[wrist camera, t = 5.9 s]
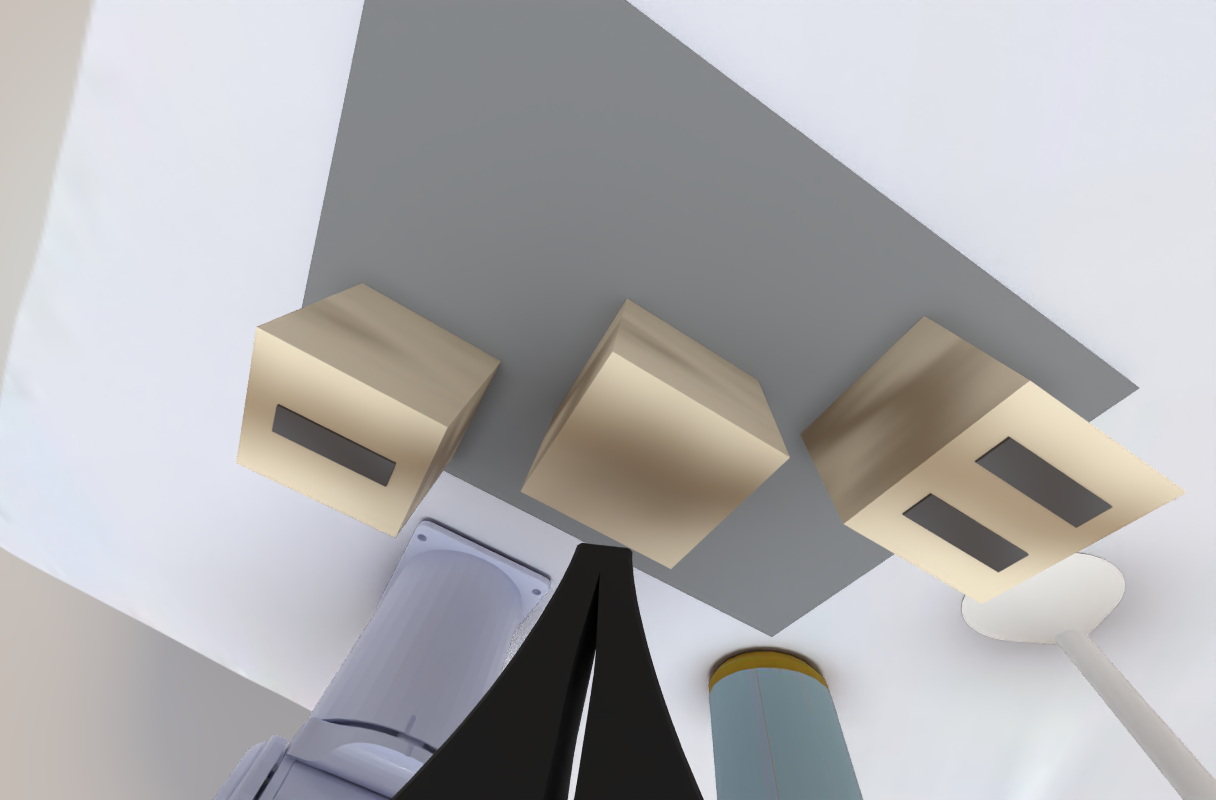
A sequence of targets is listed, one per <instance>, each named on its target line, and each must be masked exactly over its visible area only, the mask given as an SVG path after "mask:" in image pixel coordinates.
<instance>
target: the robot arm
mask: <svg viewBox="0 0 1216 800" xmlns="http://www.w3.org/2000/svg"><path fill="white" fill-rule="evenodd" d="M632 555H633V552H632V551H631V550H630V549H629V548H625V547H616V546H606V545H597V544H588V543H581V544H579V545H577V548H576V550H575V553H574V555H573V558H572V560H571V562H570V564H569V566H568V568H567V570H566V572H565V574H564V576H563V578H562V580H561V582H560V584H559V586H558V588H557V589H556V591H555V593H554V595H553V596H552V598H551V600H550V601H549V603H548V605H547V606H546V608H545V610H544V611H543V613H542V615H541V616H540V618H539V620H538V621H537V623H536V624H535V626H534V627H533V629H532V630H531V632H530V633H529V635H528V636H527V638H526V639H525V641H524V642H523V644H522V645H521V647H520V648H519V650H518V651H517V653H516V654H515V655H514V657H513V658H512V660H511V661H510V662H509V664H508V665H507V666H506V668H505V669H504V670H503V672H502V669H503V665H504V662H505V659H506V656H507V653H508V650H509V647H510V644H511V640H512V637H513V634H514V631H515V629H516V628H517V627H518V626H519V624H520V623H521V622H522V621H523V620H524V619H525V617H526V616H527V615H528V614H529V613H530V612H531V610H532V609H533V608H534V607H535V606H536V605H537V603H538V602H539V601H540V600H541V599H542V597H543V596H544V595H545V594H546V593H547V592H548V590H549V588H550V581H549V579H547V578H546V577H544V576H542V575H540V574H538V573H536V572H534V571H531V570H529V569H527V568H525V567H523V566H521V565H519V564H517V563H515V562H513V561H511V560H509V559H507V558H505V557H503V556H500V555H498V554H496V553H494V552H492V551H490V550H488V549H486V548H484V547H482V546H480V545H478V544H476V543H474V542H472V541H469V540H467V539H465V538H463V537H461V536H459V535H457V534H455V533H453V532H451V531H449V530H447V529H445V528H443V527H441V526H439V525H436V524H434V523H432V522H430V521H421V522H420V523H419V525H418V526H417V528H416V530H415V532H414V534H413V536H412V538H411V540H410V542H409V544H408V546H407V548H406V550H405V552H404V554H403V556H402V558H401V559H400V561H399V563H398V565H397V567H396V569H395V571H394V573H393V575H392V577H391V579H390V581H389V583H388V585H387V587H386V589H385V591H384V593H383V595H382V597H381V599H380V601H379V603H378V605H377V611H376V613H375V614H374V616H373V617H372V619H371V620H370V622H369V623H368V625H367V627H366V628H365V630H364V631H363V633H362V634H361V636H360V638H359V639H358V641H357V642H356V644H355V645H354V647H353V649H352V650H351V652H350V653H349V655H348V656H347V658H346V659H345V661H344V663H343V664H342V666H341V667H340V669H339V670H338V672H337V674H336V675H335V677H334V678H333V680H332V681H331V683H330V685H329V686H328V688H327V689H326V691H325V692H324V694H323V696H322V697H321V699H320V700H319V702H318V703H317V705H316V706H315V708H314V710H313V711H312V713H311V714H310V716H309V718H308V719H307V721H306V722H305V723H304V725H303V726H302V727H301V728H300V730H299V731H298V732H297V733H296V735H295V736H294V737H293V738H292V739H291V740H290V742H289V743H288V744H287V745H286V743H287V740H288V739H286V738H284V737H282V736H279V735H274V736H271V737H270V738H269V739H268V741H267V742H262V743H259V744H257V745H255V746H253V747H251V748H249V749H248V750H247V751H246V753H245V754H244V756H243V757H242V759H241V760H240V761H239V763H238V764H237V766H236V767H235V768H234V770H233V771H232V773H231V774H230V776H229V777H228V778H227V780H226V781H225V783H224V784H223V785H222V787H221V788H220V790H219V791H218V793H217V794H216V795H215V797H214V798H213V800H568V793H569V785H570V778H571V771H572V764H573V757H574V751H575V746H576V740H577V735H578V730H579V726H580V721H581V716H582V712H583V707H584V702H585V698H586V693H587V688H588V684H589V679H590V674H591V670H592V665H593V660H594V656H595V651H596V657H595V667H594V676H593V683H592V689H591V696H590V702H589V709H588V716H587V722H586V728H585V735H584V741H583V747H582V754H581V760H580V767H579V773H578V779H577V785H576V791H575V797H574V800H704V799H703V797H702V795H701V792H700V790H699V787H698V785H697V783H696V780H695V778H694V776H693V773H692V771H691V768H690V766H689V764H688V761H687V759H686V757H685V754H684V752H683V749H682V747H681V744H680V741H679V739H678V736H677V733H676V731H675V728H674V725H673V723H672V720H671V717H670V714H669V712H668V709H667V706H666V703H665V700H664V697H663V694H662V691H661V688H660V685H659V682H658V679H657V676H656V672H655V669H654V666H653V662H652V659H651V655H650V652H649V648H648V645H647V641H646V637H645V633H644V629H643V624H642V620H641V616H640V611H639V607H638V602H637V596H636V590H635V584H634V576H633V561H632ZM501 672H502V673H501ZM285 745H286V746H285ZM284 747H285V748H284Z"/></svg>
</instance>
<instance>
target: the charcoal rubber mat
mask: <svg viewBox="0 0 1216 800" xmlns="http://www.w3.org/2000/svg"><path fill="white" fill-rule="evenodd" d="M361 283H363V284H365V285H367V286H369V287H370V288H372V289H374V290H376V291H377V292H379V293H381V294H383V295H384V296H386V297H388V298H390V299H392V300H393V301H395V302H397V303H399V304H400V305H402V306H404V307H406V308H407V309H409V310H411V311H413V312H415V313H416V314H418V315H420V316H422V317H423V318H425V319H427V320H429V321H430V322H432V323H434V324H436V325H438V326H439V327H441V328H443V329H445V330H446V331H448V332H450V333H452V334H453V335H455V336H457V337H459V338H461V339H462V340H464V341H466V342H468V343H469V344H471V345H473V346H475V347H477V348H478V349H480V350H482V351H484V352H485V353H487V354H489V355H491V356H492V357H494V358H496V359H498V360H500V361H501V362H500V364H499V366H498V368H497V370H496V372H495V374H494V376H493V378H492V380H491V382H490V384H489V386H488V388H487V390H486V392H485V394H484V396H483V398H482V400H481V402H480V404H479V406H478V408H477V410H476V412H475V414H474V416H473V418H472V420H471V422H470V424H469V426H468V428H467V430H466V432H465V434H464V436H463V438H462V440H461V442H460V443H459V445H458V447H457V449H456V451H455V453H454V455H453V457H452V459H451V460H450V462H449V463H448V464H447V466H446V467H445V469H444V471H446V472H448V473H450V474H452V475H454V476H456V477H458V478H460V479H462V480H464V481H465V482H467V483H469V484H471V485H473V486H475V487H477V488H479V489H481V490H483V491H485V492H487V493H489V494H491V495H493V496H495V497H497V498H499V499H501V500H503V501H505V502H507V503H509V504H511V505H513V506H515V507H517V508H519V509H521V510H523V511H525V512H527V513H529V514H531V515H532V516H534V517H536V518H538V519H540V520H542V521H544V522H546V523H548V524H550V525H552V526H554V527H556V528H558V529H560V530H562V531H564V532H566V533H568V534H570V535H572V536H574V537H576V538H578V539H580V540H582V541H584V542H586V543H588V544H597V545H606V546H616V547H625V548H629V547H627V546H625V545H623V544H621V543H619V542H617V541H615V540H613V539H611V538H610V537H608V536H606V535H604V534H602V533H600V532H598V531H596V530H594V529H592V528H590V527H588V526H586V525H584V524H582V523H580V522H578V521H576V520H575V519H573V518H571V517H569V516H567V515H565V514H563V513H561V512H559V511H557V510H555V509H553V508H551V507H549V506H547V505H545V504H543V503H542V502H540V501H538V500H536V499H534V498H532V497H530V496H528V495H526V494H524V493H522V492H521V489H522V487H523V485H524V482H525V480H526V478H527V476H528V473H529V471H530V469H531V466H532V464H533V462H534V460H535V457H536V455H537V453H538V450H539V448H540V446H541V443H542V441H543V439H544V437H545V434H546V432H547V430H548V427H549V425H550V423H551V420H552V418H553V416H554V414H555V412H556V411H557V409H558V407H559V406H560V404H561V403H562V401H563V399H564V398H565V396H566V395H567V393H568V392H569V390H570V388H571V387H572V385H573V384H574V382H575V380H576V379H577V377H578V376H579V374H580V372H581V371H582V369H583V368H584V366H585V365H586V363H587V361H588V360H589V358H590V357H591V355H592V353H593V352H594V350H595V349H596V347H597V345H598V344H599V342H600V341H601V339H602V338H603V336H604V334H605V333H606V331H607V330H608V328H609V326H610V325H611V323H612V322H613V320H614V318H615V317H616V315H617V314H618V312H619V311H620V309H621V307H622V306H623V304H624V303H625V301H626V299H629V300H630V301H632V302H634V303H635V304H637V305H638V306H640V307H642V308H643V309H645V310H646V311H648V312H650V313H651V314H653V315H654V316H656V317H658V318H659V319H661V320H662V321H664V322H666V323H667V324H669V325H670V326H672V327H674V328H675V329H677V330H678V331H680V332H682V333H683V334H685V335H687V336H688V337H690V338H691V339H693V340H695V341H696V342H698V343H699V344H701V345H703V346H704V347H706V348H707V349H709V350H711V351H712V352H714V353H715V354H717V355H719V356H720V357H722V358H723V359H725V360H727V361H728V362H730V363H731V364H733V365H735V366H736V367H738V368H739V369H741V370H743V371H744V372H746V373H747V374H749V375H751V376H752V377H754V378H755V379H757V380H758V381H759V384H760V386H761V388H762V391H763V393H764V396H765V398H766V401H767V403H768V405H769V408H770V410H771V413H772V415H773V417H774V420H775V422H776V425H777V427H778V430H779V432H780V434H781V437H782V439H783V442H784V444H785V447H786V449H787V451H788V454H789V456H790V458H789V459H788V460H787V461H786V462H785V463H784V464H783V465H781V466H780V467H779V468H778V469H777V470H776V471H775V472H774V473H773V474H772V475H771V476H770V477H769V478H768V479H767V480H765V481H764V482H763V483H762V484H761V485H760V486H759V487H758V488H757V489H756V490H755V491H754V492H753V493H752V494H751V495H749V496H748V497H747V498H746V499H745V500H744V501H743V502H742V503H741V504H740V505H739V506H738V507H737V508H736V509H735V510H733V511H732V512H731V513H730V514H729V515H728V516H727V517H726V518H725V519H724V520H723V521H722V522H721V523H720V524H719V525H717V526H716V527H715V528H714V529H713V530H712V531H711V532H710V533H709V534H708V535H707V536H706V537H705V538H704V539H703V540H701V541H700V542H699V543H698V544H697V545H696V546H695V547H694V548H693V549H692V550H691V551H690V552H689V553H688V554H687V555H685V556H684V557H683V558H682V559H681V560H680V561H679V562H678V563H677V564H676V565H675V566H674V567H673V568H672V569H670V568H668V567H666V566H664V565H662V564H660V563H658V562H656V561H654V560H652V559H650V558H648V557H646V556H644V555H643V554H641V553H639V552H637V551H635V550H633V549H631V548H629V549H630V550H631V551H632V552H633V555H632V561H633V567H635V568H637V569H639V570H641V571H643V572H645V573H647V574H649V575H651V576H653V577H655V578H657V579H659V580H661V581H663V582H665V583H667V584H668V585H670V586H672V587H674V588H676V589H678V590H680V591H682V592H684V593H686V594H688V595H690V596H692V597H694V598H696V599H698V600H700V601H702V602H704V603H706V604H708V605H710V606H712V607H714V608H716V609H718V610H720V611H722V612H724V613H726V614H728V615H730V616H732V617H734V618H735V619H737V620H739V621H741V622H743V623H745V624H747V625H749V626H751V627H753V628H755V629H757V630H759V631H761V632H763V633H765V634H767V635H769V636H771V637H773V636H774V635H776V634H777V633H778V632H780V631H781V630H783V629H784V628H786V627H787V626H789V625H790V624H792V623H793V622H795V621H796V620H798V619H799V618H801V617H802V616H804V615H805V614H807V613H808V612H810V611H811V610H812V609H814V608H815V607H817V606H818V605H820V604H821V603H823V602H824V601H826V600H827V599H829V598H830V597H832V596H833V595H835V594H836V593H838V592H839V591H841V590H842V589H844V588H845V587H846V586H848V585H849V584H851V583H852V582H854V581H855V580H857V579H858V578H860V577H861V576H863V575H864V574H866V573H867V572H869V571H870V570H872V569H873V568H875V567H876V566H877V565H879V564H880V563H882V562H883V561H885V560H886V559H888V558H889V557H891V556H892V555H894V553H892V552H891V551H889V550H887V549H886V548H884V547H882V546H880V545H879V544H877V543H875V542H873V541H872V540H870V539H868V538H867V537H865V536H863V535H861V534H860V533H858V532H856V531H855V530H853V529H851V528H849V527H848V526H846V525H844V524H843V522H842V520H841V518H840V516H839V514H838V512H837V510H836V508H835V506H834V504H833V501H832V499H831V497H830V495H829V493H828V491H827V489H826V487H825V485H824V483H823V481H822V479H821V477H820V475H819V473H818V470H817V468H816V466H815V464H814V462H813V460H812V458H811V456H810V454H809V452H808V450H807V448H806V446H805V444H804V442H803V439H802V437H801V435H800V434H801V433H802V432H803V431H805V430H806V429H807V428H808V427H809V426H810V425H811V424H812V423H813V422H814V421H815V420H816V419H817V418H818V417H819V416H820V415H821V414H822V413H823V412H824V411H825V410H826V409H827V408H829V407H830V406H831V405H832V404H833V403H834V402H835V401H836V400H837V399H838V398H839V397H840V396H841V395H842V394H843V393H844V392H845V391H846V390H847V389H848V388H849V387H850V386H852V385H853V384H854V383H855V382H856V381H857V380H858V379H859V378H860V377H861V376H862V375H863V374H864V373H865V372H866V371H867V370H868V369H869V368H870V367H871V366H872V365H873V364H874V363H876V362H877V361H878V360H879V359H880V358H881V357H882V356H883V355H884V354H885V353H886V352H887V351H888V350H889V349H890V348H891V347H892V346H893V345H894V344H895V343H896V342H897V341H898V340H900V339H901V338H902V337H903V336H904V335H905V334H906V333H907V332H908V331H909V330H910V329H911V328H912V327H913V326H914V325H915V324H916V323H917V322H918V321H919V320H920V319H921V318H923V317H924V316H926V317H927V318H929V319H931V320H932V321H934V322H935V323H937V324H939V325H940V326H942V327H944V328H945V329H947V330H948V331H950V332H952V333H953V334H955V335H957V336H958V337H960V338H962V339H963V340H965V341H966V342H968V343H970V344H971V345H973V346H975V347H976V348H978V349H979V350H981V351H983V352H984V353H986V354H988V355H989V356H991V357H993V358H994V359H996V360H997V361H999V362H1001V363H1002V364H1004V365H1006V366H1007V367H1009V368H1011V369H1012V370H1014V371H1015V372H1017V373H1019V374H1020V375H1022V376H1024V377H1025V378H1027V379H1028V380H1030V381H1031V382H1033V383H1034V384H1036V385H1037V386H1038V387H1040V388H1041V389H1043V390H1044V391H1045V392H1047V393H1048V394H1050V395H1051V396H1052V397H1054V398H1055V399H1057V400H1058V401H1059V402H1061V403H1062V404H1064V405H1065V406H1066V407H1068V408H1069V409H1071V410H1072V411H1073V412H1075V413H1076V414H1078V415H1079V416H1080V417H1082V418H1083V419H1085V420H1086V421H1087V422H1090V421H1092V420H1093V419H1095V418H1096V417H1098V416H1099V415H1101V414H1102V413H1104V412H1105V411H1107V410H1108V409H1109V408H1111V407H1112V406H1114V405H1115V404H1117V403H1118V402H1120V401H1121V400H1123V399H1124V398H1126V397H1127V396H1129V395H1130V394H1132V393H1133V392H1135V391H1136V390H1138V389H1139V387H1138V386H1136V385H1135V384H1134V383H1132V382H1131V381H1130V380H1128V379H1127V378H1126V377H1124V376H1123V375H1122V374H1120V373H1119V372H1118V371H1116V370H1115V369H1114V368H1112V367H1111V366H1110V365H1108V364H1107V363H1106V362H1104V361H1103V360H1102V359H1101V358H1099V357H1098V356H1097V355H1095V354H1094V353H1093V352H1091V351H1090V350H1089V349H1087V348H1086V347H1085V346H1083V345H1082V344H1081V343H1079V342H1078V341H1077V340H1075V339H1074V338H1073V337H1071V336H1070V335H1069V334H1067V333H1066V332H1065V331H1063V330H1062V329H1061V328H1059V327H1058V326H1057V325H1055V324H1054V323H1053V322H1051V321H1050V320H1049V319H1047V318H1046V317H1045V316H1043V315H1042V314H1041V313H1040V312H1038V311H1037V310H1036V309H1034V308H1033V307H1032V306H1030V305H1029V304H1028V303H1026V302H1025V301H1024V300H1022V299H1021V298H1020V297H1018V296H1017V295H1016V294H1014V293H1013V292H1012V291H1010V290H1009V289H1008V288H1006V287H1005V286H1004V285H1002V284H1001V283H1000V282H998V281H997V280H996V279H994V278H993V277H992V276H990V275H989V274H988V273H986V272H985V271H984V270H983V269H981V268H980V267H979V266H977V265H976V264H975V263H973V262H972V261H971V260H969V259H968V258H967V257H965V256H964V255H963V254H961V253H960V252H959V251H957V250H956V249H955V248H953V247H952V246H951V245H949V244H948V243H947V242H945V241H944V240H943V239H941V238H940V237H939V236H937V235H936V234H935V233H933V232H932V231H931V230H929V229H928V228H927V227H926V226H924V225H923V224H922V223H920V222H919V221H918V220H916V219H915V218H914V217H912V216H911V215H910V214H908V213H907V212H906V211H904V210H903V209H902V208H900V207H899V206H898V205H896V204H895V203H894V202H892V201H891V200H890V199H888V198H887V197H886V196H884V195H883V194H882V193H880V192H879V191H878V190H876V189H875V188H874V187H872V186H871V185H870V184H869V183H867V182H866V181H865V180H863V179H862V178H861V177H859V176H858V175H857V174H855V173H854V172H853V171H851V170H850V169H849V168H847V167H846V166H845V165H843V164H842V163H841V162H839V161H838V160H837V159H835V158H834V157H833V156H831V155H830V154H829V153H827V152H826V151H825V150H823V149H822V148H821V147H819V146H818V145H817V144H815V143H814V142H813V141H812V140H810V139H809V138H808V137H806V136H805V135H804V134H802V133H801V132H800V131H798V130H797V129H796V128H794V127H793V126H792V125H790V124H789V123H788V122H786V121H785V120H784V119H782V118H781V117H780V116H778V115H777V114H776V113H774V112H773V111H772V110H770V109H769V108H768V107H766V106H765V105H764V104H762V103H761V102H760V101H758V100H757V99H756V98H755V97H753V96H752V95H751V94H749V93H748V92H747V91H745V90H744V89H743V88H741V87H740V86H739V85H737V84H736V83H735V82H733V81H732V80H731V79H729V78H728V77H727V76H725V75H724V74H723V73H721V72H720V71H719V70H717V69H716V68H715V67H713V66H712V65H711V64H709V63H708V62H707V61H705V60H704V59H703V58H701V57H700V56H699V55H698V54H696V53H695V52H694V51H692V50H691V49H690V48H688V47H687V46H686V45H684V44H683V43H682V42H680V41H679V40H678V39H676V38H675V37H674V36H672V35H671V34H670V33H668V32H667V31H666V30H664V29H663V28H662V27H660V26H659V25H658V24H656V23H655V22H654V21H652V20H651V19H650V18H648V17H647V16H646V15H644V14H643V13H642V12H640V11H639V10H638V9H637V8H635V7H634V6H633V5H631V4H630V3H629V2H627V1H626V0H365V1H364V6H363V11H362V16H361V21H360V26H359V31H358V35H357V40H356V45H355V50H354V55H353V60H352V65H351V70H350V75H349V79H348V84H347V89H346V94H345V99H344V104H343V109H342V114H341V119H340V123H339V128H338V133H337V138H336V143H335V148H334V153H333V158H332V163H331V167H330V172H329V177H328V182H327V187H326V192H325V197H324V202H323V207H322V211H321V216H320V221H319V226H318V231H317V236H316V241H315V246H314V251H313V255H312V260H311V265H310V270H309V275H308V280H307V285H306V290H305V295H304V299H303V304H302V308H303V307H306V306H308V305H311V304H313V303H315V302H318V301H320V300H323V299H325V298H328V297H330V296H332V295H335V294H337V293H340V292H342V291H344V290H347V289H349V288H352V287H354V286H357V285H359V284H361Z"/></svg>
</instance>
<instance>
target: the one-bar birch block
mask: <svg viewBox="0 0 1216 800" xmlns="http://www.w3.org/2000/svg"><path fill="white" fill-rule="evenodd" d="M500 362H501V361H500V360H498V359H496V358H494V357H492V356H491V355H489V354H487V353H485V352H484V351H482V350H480V349H478V348H477V347H475V346H473V345H471V344H469V343H468V342H466V341H464V340H462V339H461V338H459V337H457V336H455V335H453V334H452V333H450V332H448V331H446V330H445V329H443V328H441V327H439V326H438V325H436V324H434V323H432V322H430V321H429V320H427V319H425V318H423V317H422V316H420V315H418V314H416V313H415V312H413V311H411V310H409V309H407V308H406V307H404V306H402V305H400V304H399V303H397V302H395V301H393V300H392V299H390V298H388V297H386V296H384V295H383V294H381V293H379V292H377V291H376V290H374V289H372V288H370V287H369V286H367V285H365V284H363V283H361V284H359V285H357V286H354V287H352V288H349V289H347V290H344V291H342V292H340V293H337V294H335V295H332V296H330V297H328V298H325V299H323V300H320V301H318V302H315V303H313V304H311V305H308V306H306V307H303V308H301V309H299V310H296V311H294V312H291V313H289V314H286V315H284V316H282V317H279V318H277V319H274V320H272V321H270V322H267V323H265V324H262V325H260V326H257V327H256V334H255V341H254V348H253V354H252V361H251V368H250V375H249V381H248V388H247V395H246V402H245V408H244V415H243V422H242V429H241V435H240V442H239V449H238V456H237V462H236V463H237V464H239V465H241V466H243V467H246V468H248V469H250V470H252V471H254V472H256V473H258V474H260V475H263V476H265V477H267V478H269V479H271V480H273V481H275V482H277V483H280V484H282V485H284V486H286V487H288V488H290V489H292V490H294V491H297V492H299V493H301V494H303V495H305V496H307V497H309V498H311V499H314V500H316V501H318V502H320V503H322V504H324V505H326V506H328V507H331V508H333V509H335V510H337V511H339V512H341V513H343V514H345V515H348V516H350V517H352V518H354V519H356V520H358V521H360V522H362V523H365V524H367V525H369V526H371V527H373V528H375V529H377V530H379V531H382V532H384V533H386V534H388V535H390V536H392V537H394V538H396V536H397V535H398V533H399V532H400V531H401V529H402V528H403V526H404V525H405V523H406V522H407V521H408V519H409V518H410V516H411V515H412V514H413V512H414V511H415V509H416V508H417V507H418V505H419V504H420V502H421V501H422V500H423V498H424V497H425V495H426V494H427V493H428V491H429V490H430V488H431V487H432V486H433V484H434V483H435V481H436V480H437V479H438V477H439V476H440V474H441V473H442V472H443V470H444V469H445V467H446V466H447V464H448V463H449V462H450V460H451V459H452V457H453V455H454V453H455V451H456V449H457V447H458V445H459V443H460V442H461V440H462V438H463V436H464V434H465V432H466V430H467V428H468V426H469V424H470V422H471V420H472V418H473V416H474V414H475V412H476V410H477V408H478V406H479V404H480V402H481V400H482V398H483V396H484V394H485V392H486V390H487V388H488V386H489V384H490V382H491V380H492V378H493V376H494V374H495V372H496V370H497V368H498V366H499V364H500Z"/></svg>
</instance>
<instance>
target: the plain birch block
mask: <svg viewBox="0 0 1216 800" xmlns="http://www.w3.org/2000/svg"><path fill="white" fill-rule="evenodd" d="M789 458H790V456H789V454H788V451H787V449H786V447H785V444H784V442H783V439H782V437H781V434H780V432H779V430H778V427H777V425H776V422H775V420H774V417H773V415H772V413H771V410H770V408H769V405H768V403H767V401H766V398H765V396H764V393H763V391H762V388H761V386H760V384H759V381H758V380H757V379H755V378H754V377H752V376H751V375H749V374H747V373H746V372H744V371H743V370H741V369H739V368H738V367H736V366H735V365H733V364H731V363H730V362H728V361H727V360H725V359H723V358H722V357H720V356H719V355H717V354H715V353H714V352H712V351H711V350H709V349H707V348H706V347H704V346H703V345H701V344H699V343H698V342H696V341H695V340H693V339H691V338H690V337H688V336H687V335H685V334H683V333H682V332H680V331H678V330H677V329H675V328H674V327H672V326H670V325H669V324H667V323H666V322H664V321H662V320H661V319H659V318H658V317H656V316H654V315H653V314H651V313H650V312H648V311H646V310H645V309H643V308H642V307H640V306H638V305H637V304H635V303H634V302H632V301H630V300H629V299H626V301H625V303H624V304H623V306H622V307H621V309H620V311H619V312H618V314H617V315H616V317H615V318H614V320H613V322H612V323H611V325H610V326H609V328H608V330H607V331H606V333H605V334H604V336H603V338H602V339H601V341H600V342H599V344H598V345H597V347H596V349H595V350H594V352H593V353H592V355H591V357H590V358H589V360H588V361H587V363H586V365H585V366H584V368H583V369H582V371H581V372H580V374H579V376H578V377H577V379H576V380H575V382H574V384H573V385H572V387H571V388H570V390H569V392H568V393H567V395H566V396H565V398H564V399H563V401H562V403H561V404H560V406H559V407H558V409H557V411H556V412H555V414H554V416H553V418H552V420H551V423H550V425H549V427H548V430H547V432H546V434H545V437H544V439H543V441H542V443H541V446H540V448H539V450H538V453H537V455H536V457H535V460H534V462H533V464H532V466H531V469H530V471H529V473H528V476H527V478H526V480H525V482H524V485H523V487H522V489H521V492H522V493H524V494H526V495H528V496H530V497H532V498H534V499H536V500H538V501H540V502H542V503H543V504H545V505H547V506H549V507H551V508H553V509H555V510H557V511H559V512H561V513H563V514H565V515H567V516H569V517H571V518H573V519H575V520H576V521H578V522H580V523H582V524H584V525H586V526H588V527H590V528H592V529H594V530H596V531H598V532H600V533H602V534H604V535H606V536H608V537H610V538H611V539H613V540H615V541H617V542H619V543H621V544H623V545H625V546H627V547H629V548H631V549H633V550H635V551H637V552H639V553H641V554H643V555H644V556H646V557H648V558H650V559H652V560H654V561H656V562H658V563H660V564H662V565H664V566H666V567H668V568H670V569H672V568H673V567H674V566H675V565H676V564H677V563H678V562H679V561H680V560H681V559H682V558H683V557H684V556H685V555H687V554H688V553H689V552H690V551H691V550H692V549H693V548H694V547H695V546H696V545H697V544H698V543H699V542H700V541H701V540H703V539H704V538H705V537H706V536H707V535H708V534H709V533H710V532H711V531H712V530H713V529H714V528H715V527H716V526H717V525H719V524H720V523H721V522H722V521H723V520H724V519H725V518H726V517H727V516H728V515H729V514H730V513H731V512H732V511H733V510H735V509H736V508H737V507H738V506H739V505H740V504H741V503H742V502H743V501H744V500H745V499H746V498H747V497H748V496H749V495H751V494H752V493H753V492H754V491H755V490H756V489H757V488H758V487H759V486H760V485H761V484H762V483H763V482H764V481H765V480H767V479H768V478H769V477H770V476H771V475H772V474H773V473H774V472H775V471H776V470H777V469H778V468H779V467H780V466H781V465H783V464H784V463H785V462H786V461H787V460H788V459H789Z"/></svg>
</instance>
